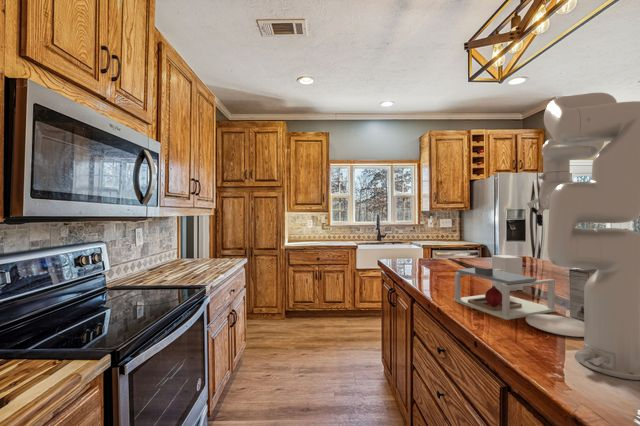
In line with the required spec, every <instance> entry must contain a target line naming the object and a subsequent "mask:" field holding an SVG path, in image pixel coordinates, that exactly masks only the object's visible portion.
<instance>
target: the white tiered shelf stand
mask: <svg viewBox="0 0 640 426" xmlns="http://www.w3.org/2000/svg"><path fill="white" fill-rule="evenodd" d="M493 270H498V271H502V269H493ZM461 276H463V277H464V276H469V275H468V274H464V273H459V272H454V298H453V302H455V303H459V304H461V305H464V306H467V307H469V308H472V309H475V310H478V311H480V312H484V313H487V314H489V315H492V316H494V317H497V318H501V319H503V320H506V321H508V320H513V319H518V318H519V319H520V318H526V317H527V316H529V315H535V314H548V313H555V312H557V308H556V303H555V302H556V301H555V300H556V298H555V297H556V296H555V295H556V291H555V290H556V285H555V284H556V280H555V279H553V278H547V279H546V278H545V279H538V280H537V281H533V282H524V283H516V284H503V285H502V283H501V282H497V281H496V289H498V290H499V291H500V292H501V293H502V303H501V304H500V305H502V306H500V305H499V306H496V307H492V306H491V305H487V304H489V303H488V302H487V301H486V299H485V294H478V295H472V296H469V295H468V296H463V297H461V295H462V294H461V293H462V292H461V291H462V290H461V287H462V286H461V282H462V281H461ZM546 284H547V285H546ZM537 285H538V286H539V285H546V286H547V292H546V293H547V305H545V304H540V303H538V302H537V303H536V302H534V301H531V300H527V299H523V298H519V297H516V296H512V295H510V293H511V291H510V288H515V287H530V286H537Z"/></svg>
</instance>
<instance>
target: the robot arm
mask: <svg viewBox="0 0 640 426" xmlns="http://www.w3.org/2000/svg"><path fill="white" fill-rule="evenodd" d="M543 124H544V127H545V130H546V131H547V132H548V133H549V134H550V136H551V137H552V138H550V139H548V140H546V141H545V142H544V143H543V145H542V148H541V154H542V159H543V160H542V161H543V163H542V167H543V168H542V172H543V173H542V174H539V175H538V180H542V181H540V186H539V191H538V192H539V193H538V197H537V198H535V199H533V200H531V201H529V202H527V203H526V205H527V206H528V208H529V209H530V211H531V212H532V213H534V214H535V223H536V224H537V226H539V227H542V226H543V214H542V213H543V212H544V211H546V210H549V211H548V229H547V256H548V258H549V261H550V262H551V263H552V264H554V265H555V266H557V267H560V268H568V269H569V268H571V269H581V268H585V269H597V271H596V272H595V273H594V274H593V275H592V276H591V277H590V278H589V279H588V281H587V282H586V284H585V288H584V321H583V322H584V337H583V340H584V341H583V342H584V343H583V349H579V350H576V352H575V354H574V356H573V357H574V359H575V361H577V362H578V363H580V364H582V365H583V366H585V367H586V368H589V369H591V370H593V371H596V372H598V373H601V374H604V375H607V376H611V377H615V378H620V379H626V380H633V381H640V233H639V232H637V231H634V230H631V229H627V228H621V227H619V228H618V227H617V228H616V227H576V226H578V225H579V224H620V223H621V224H622V223H623V224H624V223H631V222H633V221H635V220H636V219H638V217H639V216H640V101H636V100H635V101H634V100H633V101H632V100H631V101H621V102H617V99H616V98H615V97H614V96H613V95H611V94H609V93H608V92H607V93H605V92H588V93H581V94H573V95H566V96H558V97H556V98H554V99H553V100H551V101H550V102H549V103H548V104H547V106H546V108H545V110H544V114H543ZM605 142H608V143H607V144H606V145H605V146H604V144H605ZM593 157H594V158H593ZM591 158H593V160H592V166H591V172H592V173H591V178H590V180H588V181H573V180H571V171H570V169H571V168H570V167H571V164H570V162H571V161H576V160H577V161H578V160H587V159H591ZM537 203H538V209H537V208H536V207H535V206H534V204H535V205H536V204H537Z"/></svg>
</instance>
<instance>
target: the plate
mask: <svg viewBox="0 0 640 426" xmlns="http://www.w3.org/2000/svg"><path fill="white" fill-rule="evenodd" d="M525 322H526V323H527V324H528V325H529V326H531V327H534V328H536V329H538V330H541V331H544V332H548V333H550V334H555V335H561V336H567V337H568V336H569V337H578V338H579V337H580V338H581V337H582V338H584V321H583V320H582V321H581V320H580V319H576V318H575V319H574V318H573V317H571V318H570V317H566V316H561V315H555V314H546V313H544V314H535V315H529V316H526V317H525Z"/></svg>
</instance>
